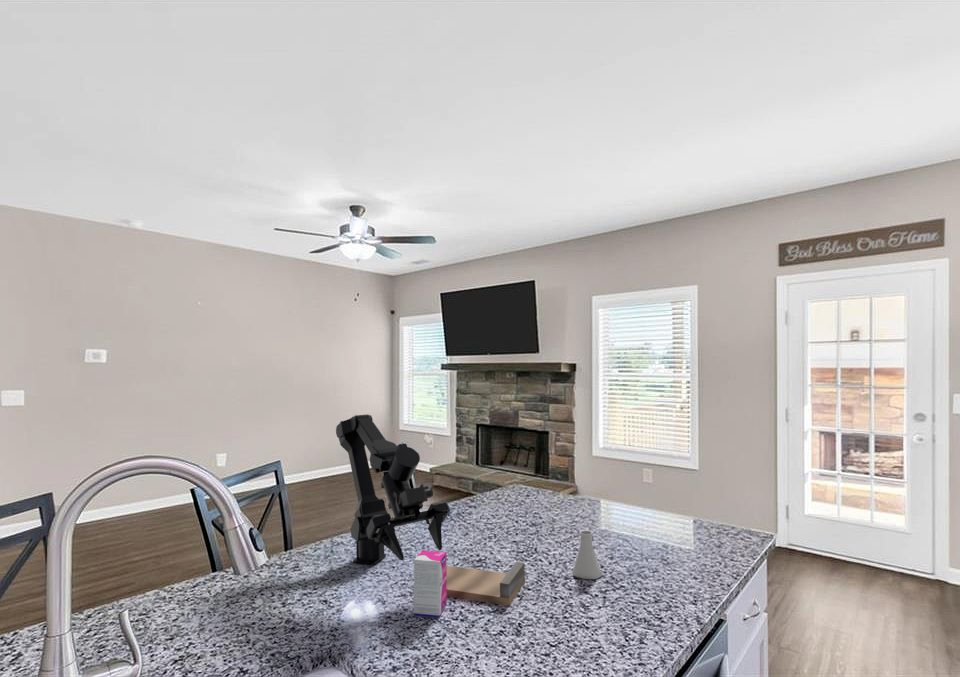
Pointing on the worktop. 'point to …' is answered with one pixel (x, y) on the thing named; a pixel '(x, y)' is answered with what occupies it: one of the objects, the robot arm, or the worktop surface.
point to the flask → (586, 558)
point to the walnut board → (485, 584)
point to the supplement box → (430, 584)
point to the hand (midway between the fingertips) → (422, 554)
